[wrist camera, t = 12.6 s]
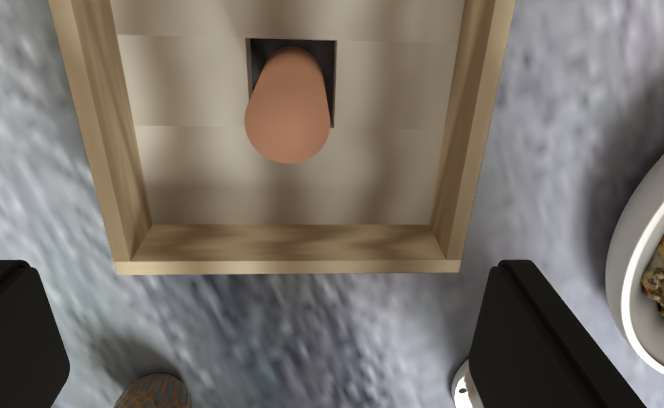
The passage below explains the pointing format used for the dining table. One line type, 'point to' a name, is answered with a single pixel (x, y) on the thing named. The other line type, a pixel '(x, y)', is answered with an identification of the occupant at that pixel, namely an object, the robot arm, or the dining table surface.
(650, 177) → the bowl
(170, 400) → the vase
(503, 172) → the dining table surface
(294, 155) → the peg
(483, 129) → the insert box
